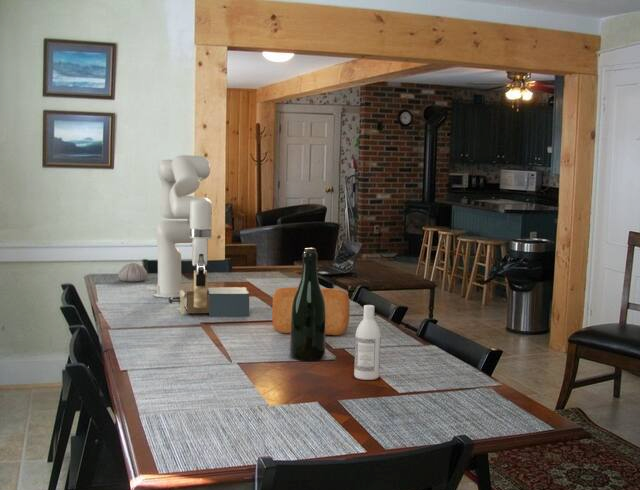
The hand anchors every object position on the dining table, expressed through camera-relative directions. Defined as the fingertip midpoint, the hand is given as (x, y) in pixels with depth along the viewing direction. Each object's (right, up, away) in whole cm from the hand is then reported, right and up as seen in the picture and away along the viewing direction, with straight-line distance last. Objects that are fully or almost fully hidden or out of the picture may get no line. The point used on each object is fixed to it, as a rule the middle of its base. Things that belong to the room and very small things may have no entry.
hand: (200, 284), depth 286 cm
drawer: (-6, -10, +15) cm, 19 cm away
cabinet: (+7, -11, +18) cm, 22 cm away
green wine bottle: (+41, -21, -46) cm, 65 cm away
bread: (+40, -9, -18) cm, 45 cm away
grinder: (0, -8, +1) cm, 8 cm away
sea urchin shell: (-49, 0, +87) cm, 99 cm away
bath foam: (+59, -25, -66) cm, 92 cm away
